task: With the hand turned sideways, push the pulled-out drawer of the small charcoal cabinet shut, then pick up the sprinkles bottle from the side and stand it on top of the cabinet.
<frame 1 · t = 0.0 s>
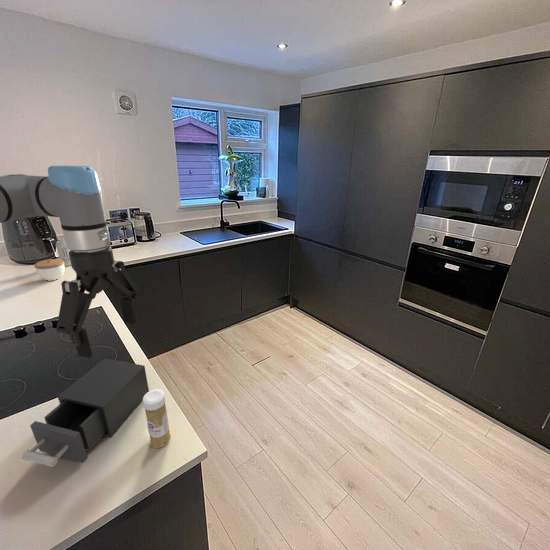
hand: (110, 337, 65), 24 cm above the worktop, tool pointing down, fingers open, 13 cm apart
lidded bowl: (53, 278, 156), on the worktop
cabinet: (111, 408, 76), on the worktop
sprinkles bottle: (161, 440, 68), on the worktop
clear ribbed bottle: (67, 265, 175), on the worktop
drawer: (75, 426, 65), point 5 cm above the worktop, slide at 6.0 cm
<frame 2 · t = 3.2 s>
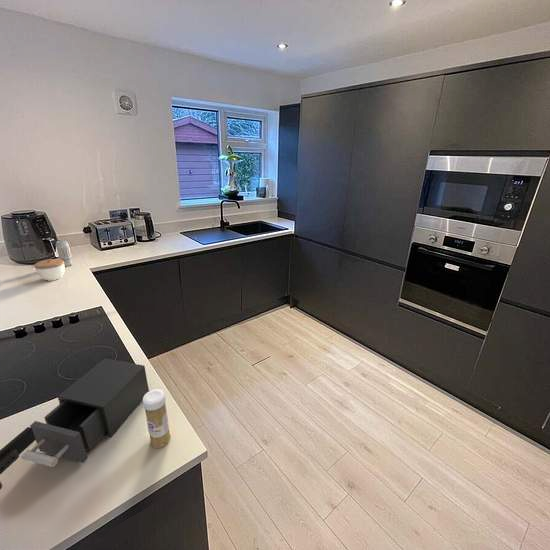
hand: (0, 425, 50), 18 cm above the worktop, tool horizontal, fingers open, 13 cm apart
nothing on the worktop moved.
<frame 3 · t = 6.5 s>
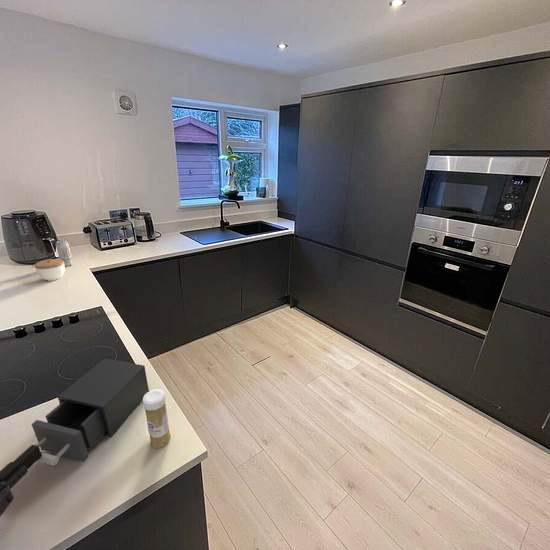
hand: (37, 450, 57), 8 cm above the worktop, tool horizontal, fingers closed
drawer: (76, 425, 66), point 5 cm above the worktop, slide at 5.7 cm, touching gripper
everything else where it was.
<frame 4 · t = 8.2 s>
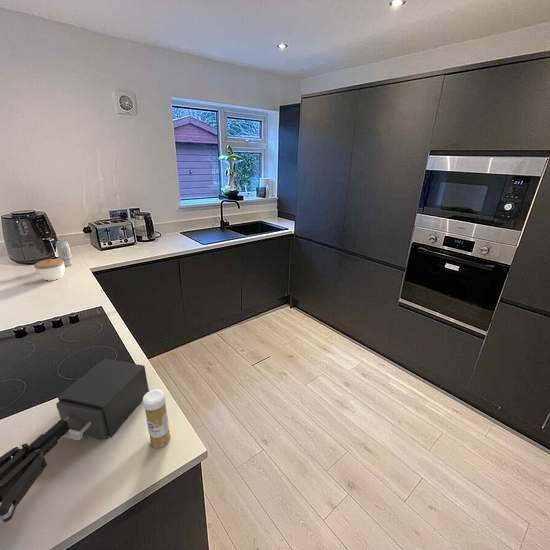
hand: (65, 424, 62), 8 cm above the worktop, tool horizontal, fingers closed
drawer: (95, 406, 71), point 5 cm above the worktop, slide at 0.0 cm, touching cabinet, gripper
everything else where it was.
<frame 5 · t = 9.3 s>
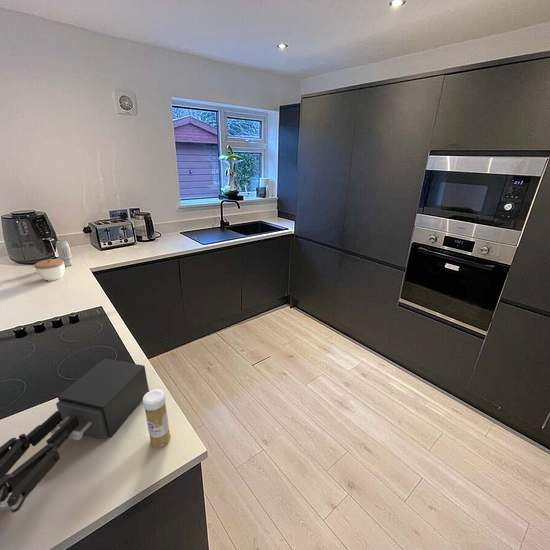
hand: (67, 417, 64), 8 cm above the worktop, tool horizontal, fingers open, 4 cm apart
nothing on the worktop moved.
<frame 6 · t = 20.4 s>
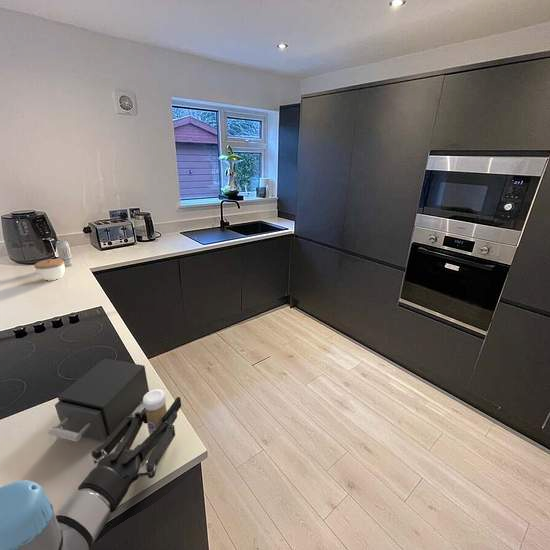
hand: (170, 399, 70), 7 cm above the worktop, tool horizontal, fingers closed on sprinkles bottle, 4 cm apart
sprinkles bottle: (161, 440, 68), on the worktop, touching gripper
drawer: (94, 407, 70), point 5 cm above the worktop, slide at 0.3 cm
everything else where it was.
when the fingers open (17 cm above the worktop, at t = 28.1 s): sprinkles bottle stays where it is, resting on cabinet.
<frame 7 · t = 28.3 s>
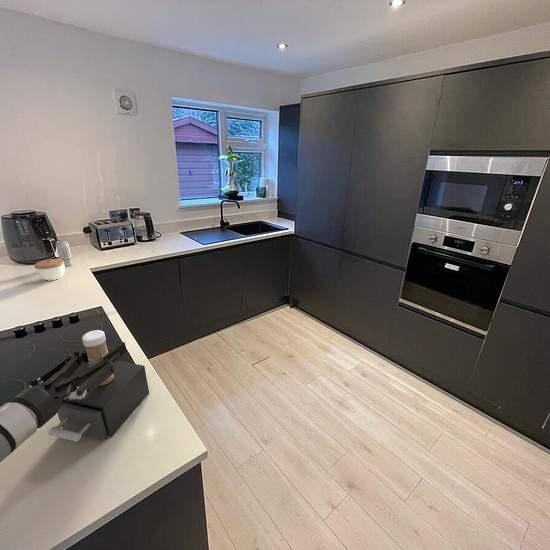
hand: (114, 344, 75), 17 cm above the worktop, tool horizontal, fingers open, 5 cm apart
sprinkles bottle: (104, 380, 73), point 9 cm above the worktop, touching cabinet
everything else where it was.
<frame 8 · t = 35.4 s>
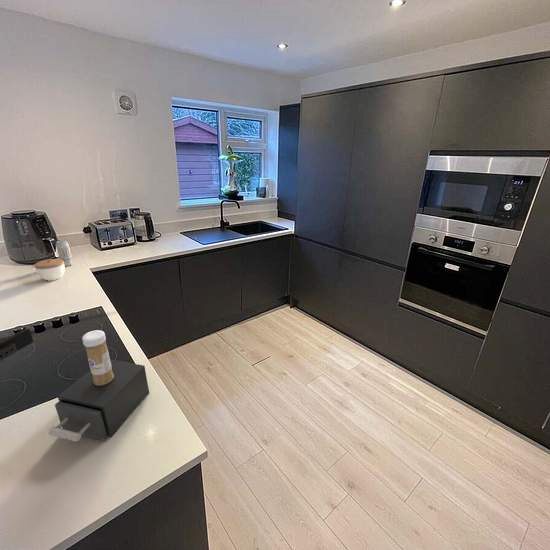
hand: (0, 329, 53), 32 cm above the worktop, tool horizontal, fingers open, 13 cm apart
nothing on the worktop moved.
at the end: drawer slide at 0.3 cm; sprinkles bottle inside the target area on the cabinet (0.1 cm from its centre), point 9.4 cm above the cabinet's base; sprinkles bottle tilted 0° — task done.
